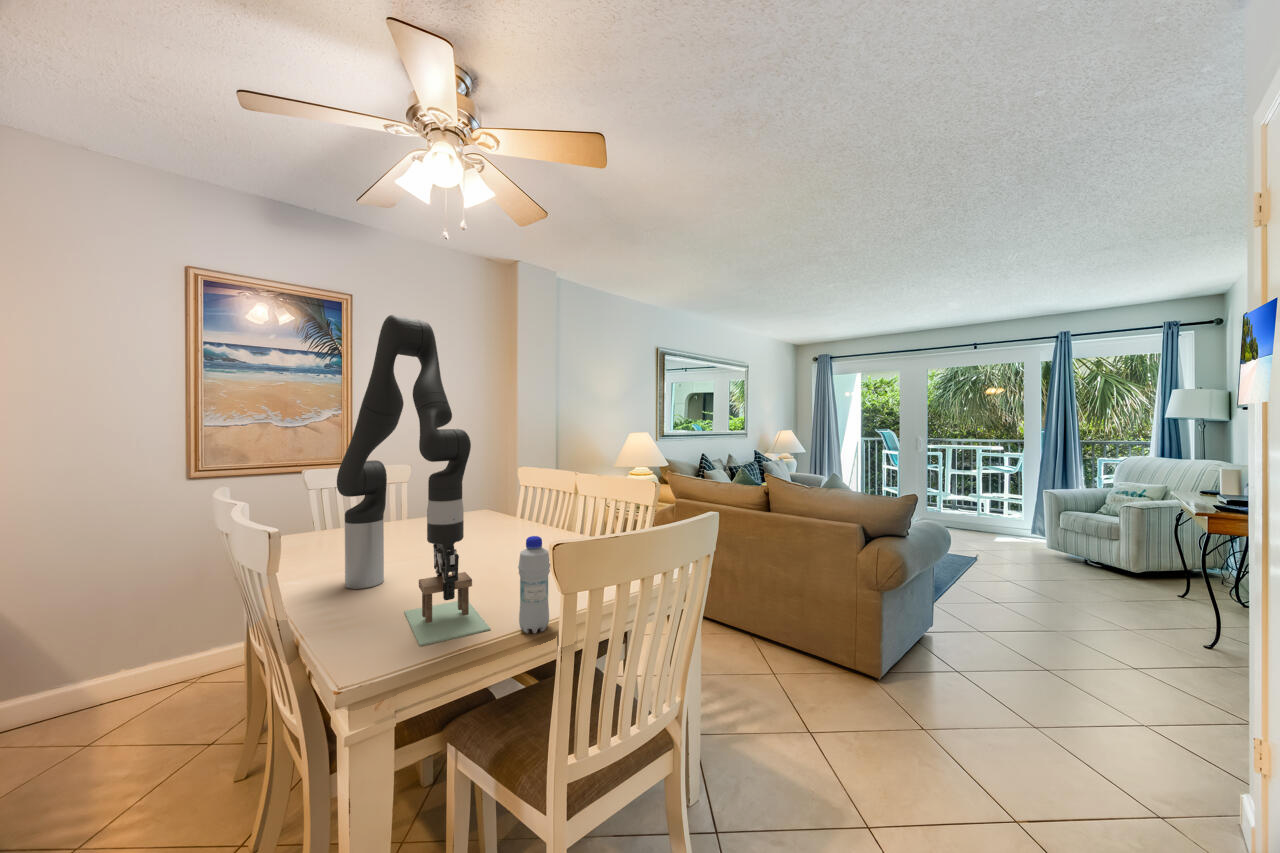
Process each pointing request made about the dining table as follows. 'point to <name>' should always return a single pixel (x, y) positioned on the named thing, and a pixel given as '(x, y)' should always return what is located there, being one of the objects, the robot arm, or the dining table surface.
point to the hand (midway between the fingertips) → (445, 594)
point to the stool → (436, 586)
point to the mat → (445, 623)
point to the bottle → (534, 586)
